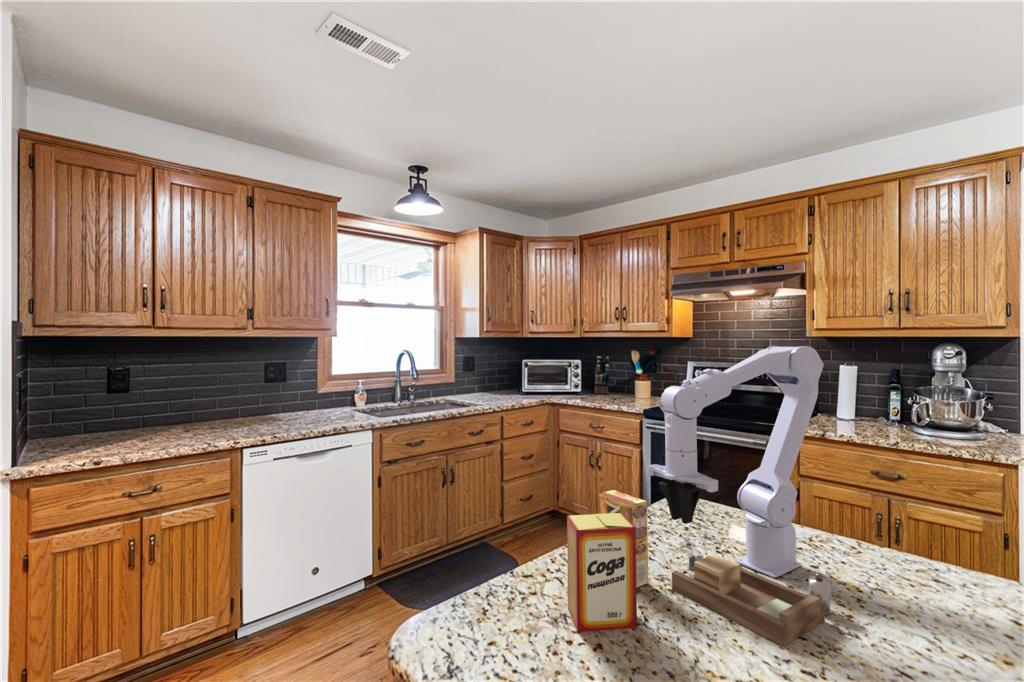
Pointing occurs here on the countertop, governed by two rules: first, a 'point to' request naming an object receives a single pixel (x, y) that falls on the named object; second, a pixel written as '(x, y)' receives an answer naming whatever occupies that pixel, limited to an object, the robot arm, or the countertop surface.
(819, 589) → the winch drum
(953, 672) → the countertop surface
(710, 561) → the tan wooden block
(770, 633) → the bay
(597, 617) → the baking soda box
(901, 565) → the countertop surface
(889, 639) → the countertop surface
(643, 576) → the candy box
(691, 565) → the crank handle
